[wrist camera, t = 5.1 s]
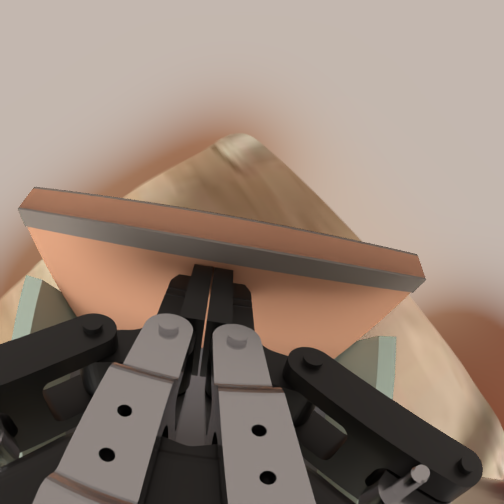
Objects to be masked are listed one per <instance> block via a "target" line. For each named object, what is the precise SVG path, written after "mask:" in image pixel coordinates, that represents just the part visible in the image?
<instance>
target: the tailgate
mask: <svg viewBox="0 0 504 504" xmlns="http://www.w3.org/2000/svg"><path fill="white" fill-rule="evenodd" d="M18 211H19V213H20V216H21V218H22V220H23V222H24V225H25V226H27V227H28V229H29V232H30V234H31V236H32V238H33V240H34V242H35V244H36V246H37V248H38V250H39V252H40V254H41V256H42V258H43V260H44V262H45V264H46V266H47V268H48V269H49V271H50V273H51V275H52V277H53V278H54V280H55V282H56V284H57V285H58V287H59V289H60V291H61V292H62V294H63V296H64V297H65V299H66V300H67V302H68V304H69V305H70V307H71V308H72V310H73V312H74V313H75V315H76V316H77V317H79V316H81V315H85V314H91V313H97V314H102V315H105V316H108V317H109V318H111V319H112V320H113V321H114V322H115V324H116V326H117V330H135V329H140V328H143V326H144V324H145V322H146V321H147V320H148V319H149V318H150V317H152V316H154V315H157V313H158V310H159V308H160V305H161V303H162V300H163V298H164V295H165V293H166V291H167V288H168V286H169V283H170V281H171V279H173V278H174V277H176V276H177V275H178V274H181V275H187V276H191V274H192V271H193V267H194V264H197V265H203V266H209V267H213V270H212V277H211V283H210V290H209V297H208V303H207V310H206V317H205V324H204V331H203V338H202V345H201V348H203V345H204V337H205V329H206V322H207V315H208V308H209V301H210V294H211V288H212V281H213V275H214V269H215V267H216V268H222V269H228V270H233V283H237V284H244V285H246V287H247V288H248V289H249V290H250V292H251V298H252V308H253V319H254V329H255V332H256V333H257V334H258V335H259V337H260V339H261V342H262V345H263V346H265V347H266V348H268V349H270V350H272V351H274V352H277V353H280V354H283V355H286V356H288V355H289V353H290V352H291V351H292V350H294V349H296V348H299V347H311V348H315V349H318V350H320V351H322V352H324V353H326V354H327V355H328V356H330V357H331V358H333V359H335V358H336V357H337V356H338V355H340V354H341V353H342V352H344V351H345V350H346V349H347V348H349V347H350V346H351V345H352V344H353V343H355V342H356V341H357V340H358V339H360V338H361V337H362V336H363V335H364V334H366V333H367V332H368V331H369V330H370V329H371V328H373V327H374V326H375V325H376V324H377V323H378V322H379V321H381V320H382V319H383V318H384V317H385V316H386V315H387V314H388V313H390V312H391V311H392V310H393V309H394V308H395V307H396V306H397V305H398V304H399V303H400V302H401V301H402V300H403V299H405V298H406V297H407V296H408V295H409V294H410V293H411V292H412V293H413V292H414V291H415V290H416V289H417V288H418V287H419V286H420V285H421V284H422V283H423V282H424V281H425V280H426V279H425V276H424V273H423V270H422V267H421V264H420V261H419V258H418V256H417V254H413V253H410V252H405V251H401V250H397V249H392V248H388V247H383V246H379V245H374V244H370V243H365V242H361V241H356V240H352V239H347V238H342V237H337V236H333V235H328V234H323V233H318V232H313V231H308V230H303V229H298V228H293V227H288V226H283V225H278V224H272V223H267V222H262V221H257V220H251V219H246V218H240V217H235V216H229V215H223V214H218V213H212V212H206V211H200V210H194V209H188V208H182V207H176V206H170V205H164V204H157V203H151V202H144V201H138V200H131V199H124V198H117V197H110V196H103V195H96V194H89V193H81V192H73V191H65V190H57V189H48V188H40V187H34V188H33V189H32V191H31V192H30V193H29V194H28V196H27V197H26V198H25V200H24V201H23V203H22V204H21V205H20V207H19V208H18Z"/></svg>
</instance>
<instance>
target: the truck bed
mask: <svg viewBox="0 0 504 504" xmlns="http://www.w3.org/2000/svg"><path fill="white" fill-rule="evenodd" d="M76 317H77V316H76V315H75V313H74V312H73V310H72V308H71V307H70V305H69V304H68V302H67V300H66V299H65V297H64V296H63V294H62V292H60V291H59V290H57V289H56V288H54V287H52V286H51V285H49V284H48V283H46V282H45V281H43V280H41V279H37V278H34V277H31V276H27V275H26V278H25V281H24V285H23V289H22V293H21V297H20V301H19V305H18V310H17V314H16V319H15V324H14V330H13V336H12V340H14V339H17V338H20V337H23V336H25V335H28V334H31V333H34V332H37V331H39V330H42V329H45V328H48V327H51V326H53V325H56V324H59V323H62V322H65V321H67V320H70V319H73V318H76ZM202 352H203V348H201V353H200V360H199V368H198V376H194V375H191V380H190V385H189V387H188V389H187V396H186V400H185V404H184V408H183V412H182V416H181V420H180V424H179V428H178V432H177V437H176V442H178V443H181V444H184V445H187V446H202V445H204V400H203V397H204V389H205V380H206V377H201V376H200V368H201V360H202ZM334 360H335V361H337V362H338V363H340V364H341V365H343V366H344V367H345V368H347V369H348V370H350V371H351V372H353V373H354V374H355V375H357V376H358V377H360V378H361V379H363V380H364V381H365V382H367V383H368V384H370V385H371V386H373V387H374V388H376V389H377V390H379V391H380V392H382V393H383V394H385V395H386V396H388V397H389V398H390V399H392V400H393V391H394V378H395V361H396V337H389V336H377V337H372V338H368V339H364V340H359V341H356V342H355V343H353V344H352V345H351V346H350V347H349V348H347V349H346V350H345V351H344V352H342V353H341V354H340V355H338V356H337V357H336V358H335V359H334ZM77 375H80V371H79V370H77V371H75V372H72V373H70V374H68V375H65V376H63V377H61V378H59V379H56V380H54V381H52V382H50V383H48V384H47V385H46V386H45V387H44V389H43V390H45V389H48V388H50V387H53V386H55V385H57V384H59V383H62V382H64V381H66V380H68V379H71V378H73V377H75V376H77ZM314 410H315V411H316V412H317V413H318V414H320V415H321V416H322V417H323V418H325V419H326V420H327V421H328V422H330V423H331V424H332V425H334V426H335V427H336V428H338V429H339V430H340V431H342V432H343V433H344V434H346V435H347V433H346V431H345V429H344V428H343V427H342V426H341V425H340V424H338V423H337V422H336V421H334V420H333V419H332V418H330V417H329V416H328V415H327V414H325V413H324V412H323V411H321V410H320V409H319V408H318V407H315V409H314ZM76 428H77V426H76V427H74V428H72V429H70V430H68V431H66V432H64V433H62V434H60V435H58V436H56V437H54V438H52V439H50V440H48V441H45V442H43V443H41V444H39V445H37V446H35V447H32V448H30V449H28V450H26V451H23V452H21V453H20V455H19V458H20V457H22V456H24V455H26V454H28V453H30V452H32V451H34V450H36V449H38V448H40V447H42V446H44V445H46V444H48V443H50V442H52V441H54V440H56V439H57V438H59V437H61V436H64V435H66V434H69V433H72V432H75V430H76ZM303 460H304V464H305V465H306V466H308V467H310V468H311V469H313V470H314V471H316V472H317V473H318V474H320V475H321V476H322V477H323V478H324V479H326V480H327V481H328V482H329V483H330V484H332V485H333V486H334V487H335V488H336V489H338V490H339V491H340V492H341V493H343V494H344V495H345V496H347V497H348V498H349V499H350V500H352V501H353V502H354V503H356V504H358V502H359V500H358V499H356V498H355V497H354V496H352V495H351V494H349V493H348V492H347V491H345V490H344V489H343V488H341V487H340V486H339V485H337V484H336V483H335V482H333V481H332V480H331V479H329V478H328V477H327V476H325V475H324V474H323V473H322V472H320V471H319V470H318V469H317V468H315V467H314V466H313V465H312V464H311V463H309V462H308V461H307V460H306V459H305V458H303Z"/></svg>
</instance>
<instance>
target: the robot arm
mask: <svg viewBox="0 0 504 504" xmlns="http://www.w3.org/2000/svg"><path fill="white" fill-rule="evenodd" d="M212 270H213V267H209V266H203V265H197V264H194V267H193V271H192V274H191V276H187V275H181V274H178V275H177V276H176V277H174V278H173V279H171V281H170V283H169V286H168V288H167V291H166V293H165V295H164V298H163V300H162V303H161V305H160V308H159V310H158V313H157V315H154V316H152V317H150V318H149V319H148V320H147V321H146V322H145V324H144V326H143V328H140V329H135V330H117V326H116V324H115V322H114V321H113V320H112V319H111V318H109V317H108V316H105V315H102V314H97V313H91V314H85V315H81V316H79V317H76V318H73V319H70V320H67V321H65V322H62V323H59V324H56V325H53V326H51V327H48V328H45V329H42V330H39V331H37V332H34V333H31V334H28V335H25V336H23V337H20V338H17V339H14V340H11V341H8V342H6V343H3V344H0V504H356V503H354V502H353V501H352V500H350V499H349V498H348V497H347V496H345V495H344V494H343V493H341V492H340V491H339V490H338V489H336V488H335V487H334V486H333V485H332V484H330V483H329V482H328V481H327V480H326V479H324V478H323V477H322V476H321V475H320V474H318V473H317V472H316V471H314V470H313V469H311V468H310V467H308V466H306V465H305V464H304V460H303V458H305V459H306V460H307V461H308V462H309V463H311V464H312V465H313V466H314V467H315V468H317V469H318V470H319V471H320V472H322V473H323V474H324V475H325V476H327V477H328V478H329V479H331V480H332V481H333V482H335V483H336V484H337V485H339V486H340V487H341V488H343V489H344V490H345V491H347V492H348V493H349V494H351V495H352V496H354V497H355V498H356V499H358V500H359V502H358V504H504V480H498V479H491V478H484V477H481V476H482V472H483V468H482V463H481V461H480V459H479V457H478V456H477V454H476V453H475V452H473V451H472V450H471V449H469V448H467V447H466V446H464V445H462V444H461V443H459V442H457V441H456V440H454V439H453V438H451V437H449V436H448V435H446V434H444V433H443V432H441V431H440V430H438V429H437V428H435V427H433V426H432V425H430V424H429V423H427V422H426V421H424V420H422V419H421V418H419V417H418V416H416V415H415V414H413V413H412V412H410V411H409V410H407V409H406V408H404V407H403V406H401V405H399V404H398V403H396V402H395V401H393V400H392V399H390V398H389V397H388V396H386V395H385V394H383V393H382V392H380V391H379V390H377V389H376V388H374V387H373V386H371V385H370V384H368V383H367V382H365V381H364V380H363V379H361V378H360V377H358V376H357V375H355V374H354V373H353V372H351V371H350V370H348V369H347V368H345V367H344V366H343V365H341V364H340V363H338V362H337V361H335V360H334V359H333V358H331V357H330V356H328V355H327V354H326V353H324V352H322V351H320V350H318V349H315V348H311V347H299V348H296V349H294V350H292V351H291V352H290V353H289V355H288V356H286V355H283V354H280V353H277V352H274V351H272V350H270V349H268V348H266V347H265V346H263V345H262V342H261V339H260V337H259V335H258V334H257V333H256V332H255V329H254V319H253V308H252V298H251V292H250V290H249V289H248V288H247V287H246V285H244V284H237V283H233V270H228V269H222V268H216V267H215V269H214V275H213V281H212V288H211V294H210V301H209V308H208V315H207V322H206V329H205V337H204V345H203V352H202V360H201V368H200V376H201V377H206V380H205V389H204V397H203V400H204V445H202V446H187V445H184V444H181V443H178V442H176V437H177V432H178V428H179V424H180V420H181V416H182V412H183V408H184V404H185V400H186V396H187V389H188V387H189V385H190V380H191V375H194V376H198V368H199V360H200V353H201V345H202V338H203V331H204V324H205V317H206V310H207V303H208V297H209V290H210V283H211V277H212ZM77 370H79V371H80V375H77V376H75V377H73V378H71V379H68V380H66V381H64V382H62V383H59V384H57V385H55V386H53V387H50V388H48V389H45V390H43V389H44V387H45V386H46V385H47V384H48V383H50V382H52V381H54V380H56V379H59V378H61V377H63V376H65V375H68V374H70V373H72V372H75V371H77ZM315 407H318V408H319V409H320V410H321V411H323V412H324V413H325V414H327V415H328V416H329V417H330V418H332V419H333V420H334V421H336V422H337V423H338V424H340V425H341V426H342V427H343V428H344V429H345V431H346V433H347V435H346V434H344V433H343V432H342V431H340V430H339V429H338V428H336V427H335V426H334V425H332V424H331V423H330V422H328V421H327V420H326V419H325V418H323V417H322V416H321V415H320V414H318V413H317V412H316V411H315V410H314V409H315ZM76 426H77V428H76V430H75V432H72V433H69V434H66V435H64V436H61V437H59V438H57V439H56V440H54V441H52V442H50V443H48V444H46V445H44V446H42V447H40V448H38V449H36V450H34V451H32V452H30V453H28V454H26V455H24V456H22V457H20V458H19V455H20V453H21V452H23V451H26V450H28V449H30V448H32V447H35V446H37V445H39V444H41V443H43V442H45V441H48V440H50V439H52V438H54V437H56V436H58V435H60V434H62V433H64V432H66V431H68V430H70V429H72V428H74V427H76Z"/></svg>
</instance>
